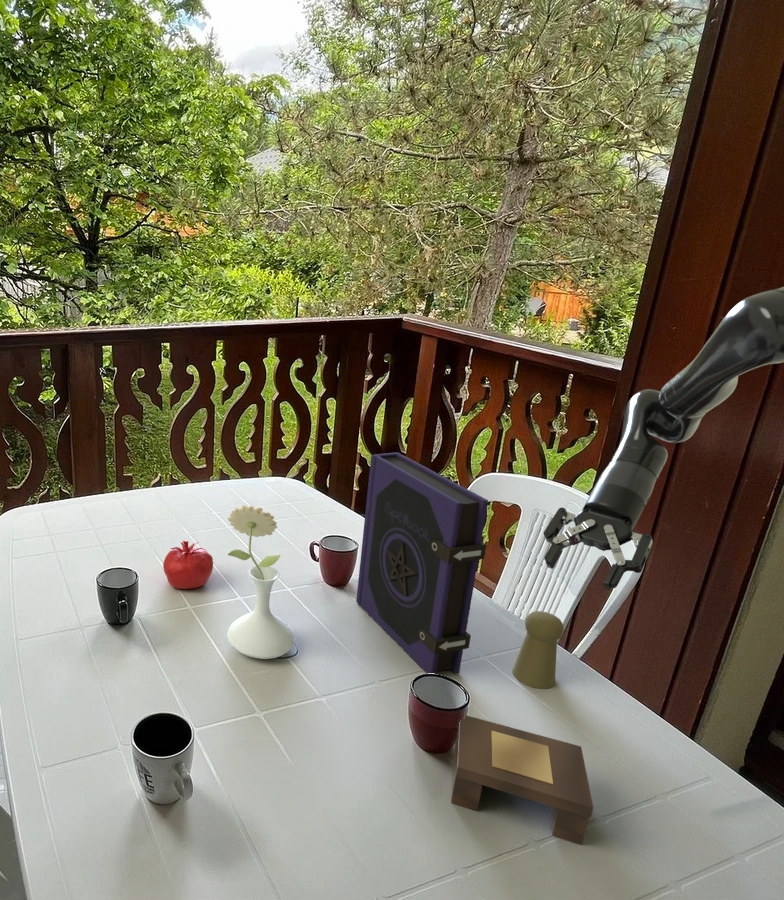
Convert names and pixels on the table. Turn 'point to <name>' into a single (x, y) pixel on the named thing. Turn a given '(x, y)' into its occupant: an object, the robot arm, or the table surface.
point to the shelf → (523, 772)
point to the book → (420, 559)
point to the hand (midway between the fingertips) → (576, 576)
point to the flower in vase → (259, 594)
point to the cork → (539, 650)
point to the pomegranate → (188, 566)
